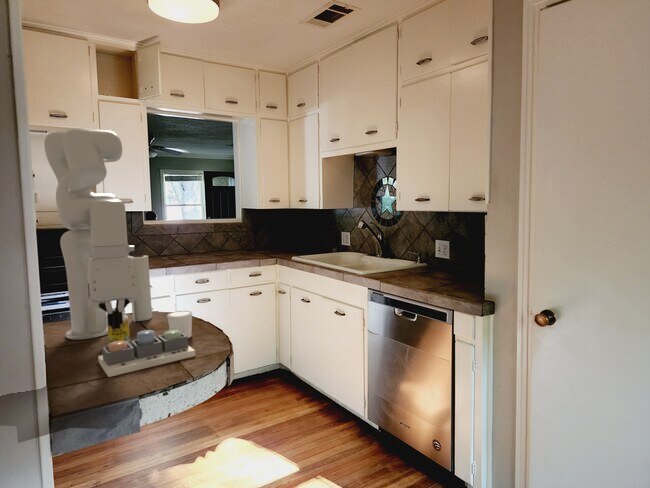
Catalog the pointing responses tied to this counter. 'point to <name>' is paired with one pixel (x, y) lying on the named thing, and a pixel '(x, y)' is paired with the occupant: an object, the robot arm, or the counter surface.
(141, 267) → the paper towel roll
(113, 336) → the supplement bottle
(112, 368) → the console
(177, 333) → the button three
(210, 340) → the counter surface
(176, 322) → the white tapered cup
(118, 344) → the button one
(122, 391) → the counter surface
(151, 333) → the button two
